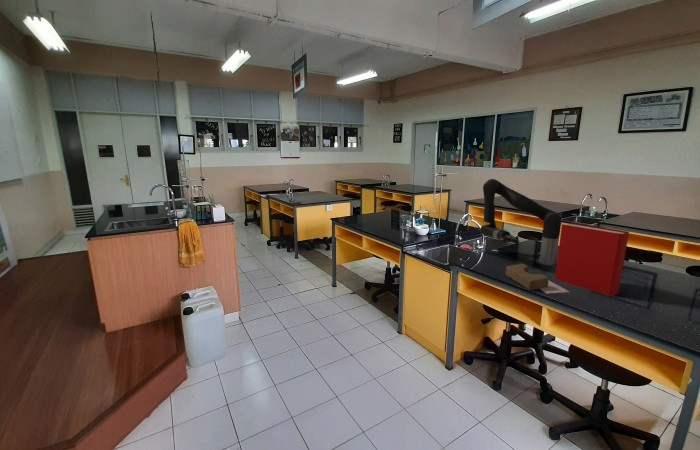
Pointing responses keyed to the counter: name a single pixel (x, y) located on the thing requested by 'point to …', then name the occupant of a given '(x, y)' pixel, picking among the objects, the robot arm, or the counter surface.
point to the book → (591, 257)
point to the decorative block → (526, 277)
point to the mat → (553, 288)
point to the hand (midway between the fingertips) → (517, 242)
